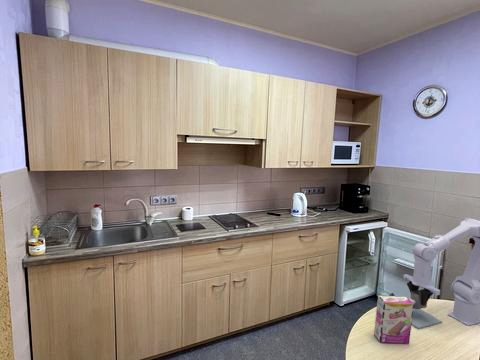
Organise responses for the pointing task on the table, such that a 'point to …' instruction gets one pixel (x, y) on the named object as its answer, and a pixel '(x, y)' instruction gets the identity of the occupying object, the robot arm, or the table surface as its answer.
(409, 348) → the table surface
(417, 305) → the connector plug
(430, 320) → the slate mat
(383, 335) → the candy bar box
